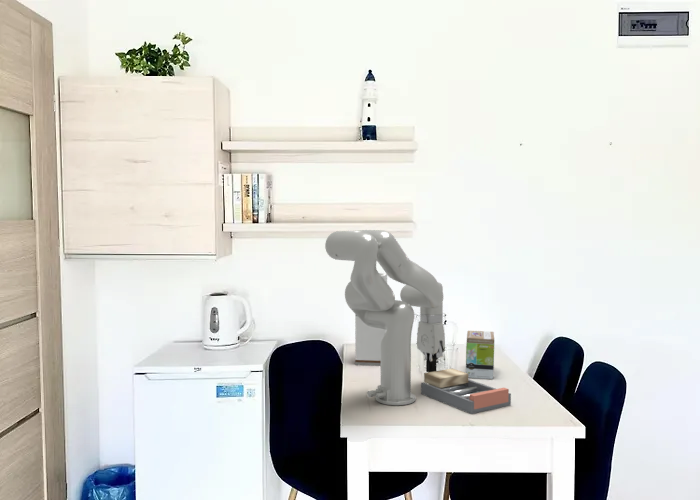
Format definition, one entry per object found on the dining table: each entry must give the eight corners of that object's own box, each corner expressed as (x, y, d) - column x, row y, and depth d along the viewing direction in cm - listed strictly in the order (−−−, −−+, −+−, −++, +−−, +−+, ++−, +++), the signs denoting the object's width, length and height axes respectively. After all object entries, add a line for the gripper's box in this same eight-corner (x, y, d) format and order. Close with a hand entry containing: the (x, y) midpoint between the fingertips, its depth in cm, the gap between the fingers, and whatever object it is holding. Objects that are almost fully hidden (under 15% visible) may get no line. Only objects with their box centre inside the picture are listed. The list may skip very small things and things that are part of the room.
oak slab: (439, 388, 198) (439, 378, 198) (424, 382, 205) (424, 373, 205) (468, 382, 204) (468, 373, 204) (452, 377, 211) (452, 368, 211)
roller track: (471, 414, 183) (471, 402, 182) (421, 393, 203) (421, 382, 203) (510, 405, 191) (510, 393, 191) (458, 386, 211) (458, 376, 211)
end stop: (474, 409, 183) (474, 396, 183) (469, 407, 185) (469, 394, 185) (508, 401, 190) (508, 389, 190) (503, 400, 192) (503, 387, 192)
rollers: (471, 407, 185) (471, 401, 185) (426, 389, 204) (426, 383, 204) (501, 400, 192) (501, 394, 192) (454, 383, 210) (454, 378, 210)
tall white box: (386, 359, 250) (387, 273, 248) (384, 366, 240) (384, 275, 237) (358, 358, 252) (358, 272, 250) (355, 365, 241) (355, 275, 239)
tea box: (494, 379, 220) (494, 338, 219) (465, 378, 222) (465, 337, 221) (493, 369, 235) (493, 330, 234) (466, 367, 237) (466, 329, 236)
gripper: (409, 316, 215) (409, 368, 216) (436, 323, 202) (436, 378, 203) (426, 314, 219) (426, 365, 220) (454, 320, 206) (454, 375, 207)
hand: (431, 371), depth 211 cm, fingers closed
